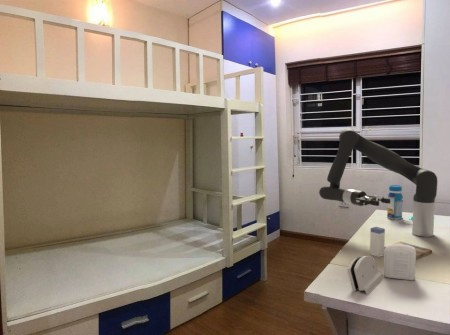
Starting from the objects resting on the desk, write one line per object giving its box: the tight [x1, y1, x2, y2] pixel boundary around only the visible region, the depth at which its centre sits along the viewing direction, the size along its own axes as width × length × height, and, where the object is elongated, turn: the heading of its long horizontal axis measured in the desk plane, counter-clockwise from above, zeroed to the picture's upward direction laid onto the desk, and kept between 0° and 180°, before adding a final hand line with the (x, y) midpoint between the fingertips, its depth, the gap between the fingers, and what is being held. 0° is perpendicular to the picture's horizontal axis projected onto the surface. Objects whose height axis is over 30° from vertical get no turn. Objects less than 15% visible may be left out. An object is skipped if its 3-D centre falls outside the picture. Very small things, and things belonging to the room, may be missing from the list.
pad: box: [384, 241, 433, 260], centre depth 143 cm, size 14×14×1 cm
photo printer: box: [382, 243, 417, 281], centre depth 117 cm, size 10×4×12 cm, turn 73°
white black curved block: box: [347, 255, 385, 296], centre depth 114 cm, size 17×5×10 cm, turn 137°
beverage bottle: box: [386, 184, 404, 220], centre depth 199 cm, size 8×8×20 cm
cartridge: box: [369, 226, 386, 258], centre depth 140 cm, size 4×4×12 cm
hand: (384, 202), depth 151 cm, fingers open, 8 cm apart
